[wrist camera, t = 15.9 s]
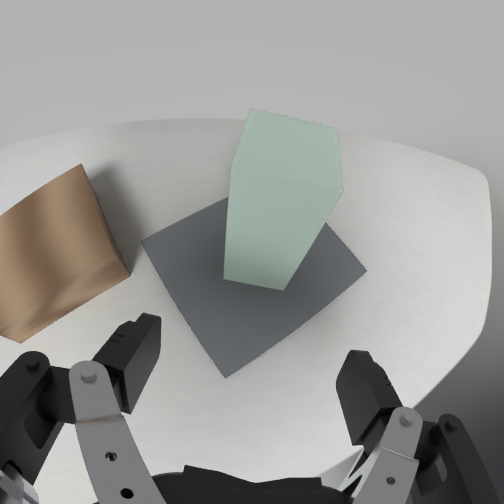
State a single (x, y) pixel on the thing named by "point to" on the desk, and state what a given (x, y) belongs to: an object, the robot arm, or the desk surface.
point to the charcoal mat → (243, 287)
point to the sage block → (278, 196)
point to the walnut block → (54, 255)
